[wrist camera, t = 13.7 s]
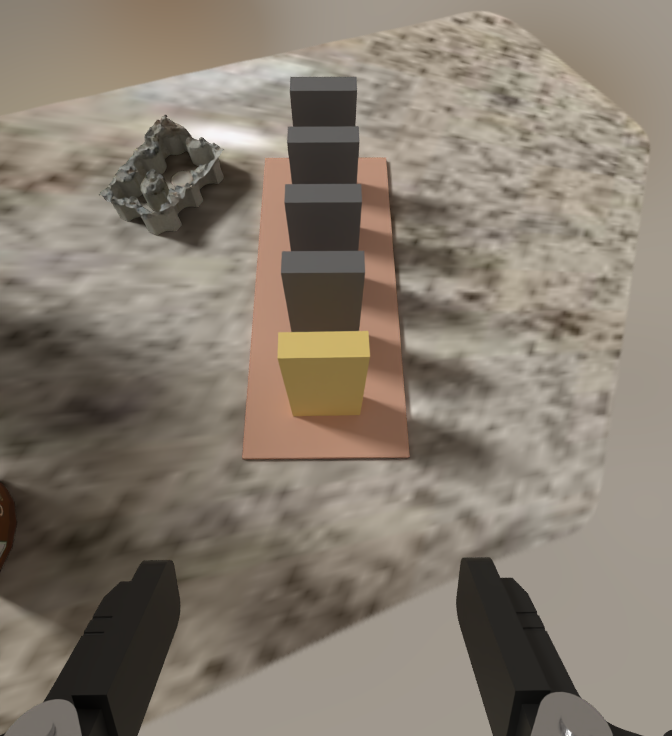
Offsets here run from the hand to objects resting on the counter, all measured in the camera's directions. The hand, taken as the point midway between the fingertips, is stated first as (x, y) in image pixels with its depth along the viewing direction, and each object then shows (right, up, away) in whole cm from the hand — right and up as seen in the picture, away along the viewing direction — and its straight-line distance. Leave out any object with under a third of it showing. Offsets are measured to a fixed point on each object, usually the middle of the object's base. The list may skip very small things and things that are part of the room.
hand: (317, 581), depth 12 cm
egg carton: (-15, +23, +31) cm, 41 cm away
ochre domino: (0, +3, +21) cm, 21 cm away
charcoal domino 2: (0, +18, +28) cm, 33 cm away
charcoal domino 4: (0, +8, +23) cm, 25 cm away
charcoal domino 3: (0, +13, +26) cm, 29 cm away
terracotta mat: (0, +13, +26) cm, 29 cm away
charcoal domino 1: (0, +23, +30) cm, 38 cm away
